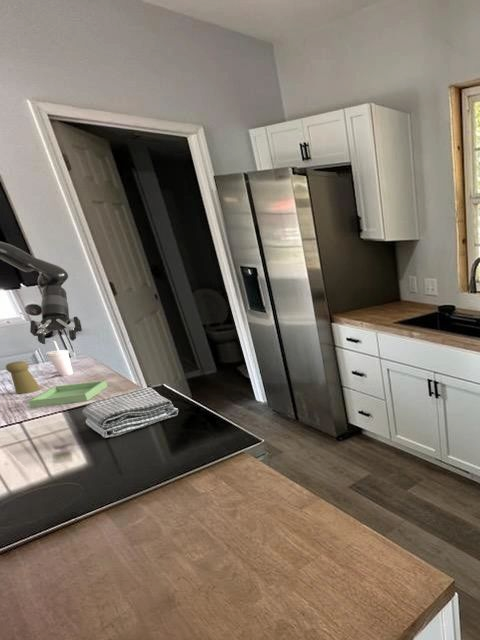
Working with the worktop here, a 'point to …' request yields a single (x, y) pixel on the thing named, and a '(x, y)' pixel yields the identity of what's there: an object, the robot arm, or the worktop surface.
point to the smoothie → (60, 361)
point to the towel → (128, 412)
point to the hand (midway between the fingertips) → (57, 341)
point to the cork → (22, 378)
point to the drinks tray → (68, 394)
